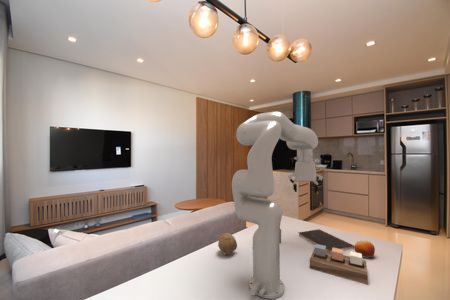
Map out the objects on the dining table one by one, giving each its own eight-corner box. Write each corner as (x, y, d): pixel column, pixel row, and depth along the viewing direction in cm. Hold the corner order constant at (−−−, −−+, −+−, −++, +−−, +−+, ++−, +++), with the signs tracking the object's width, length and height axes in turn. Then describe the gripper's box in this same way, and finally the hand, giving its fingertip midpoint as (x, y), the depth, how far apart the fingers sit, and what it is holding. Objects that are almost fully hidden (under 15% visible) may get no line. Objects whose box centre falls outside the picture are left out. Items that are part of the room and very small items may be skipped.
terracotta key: (342, 261, 82) (342, 253, 82) (331, 258, 84) (331, 251, 84) (343, 256, 85) (343, 249, 85) (332, 254, 87) (332, 247, 87)
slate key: (325, 256, 85) (324, 249, 85) (314, 254, 87) (314, 247, 87) (326, 252, 89) (326, 246, 89) (316, 250, 91) (316, 243, 91)
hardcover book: (329, 254, 97) (329, 249, 97) (298, 236, 119) (298, 232, 119) (354, 249, 102) (354, 245, 102) (319, 232, 124) (319, 229, 124)
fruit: (370, 259, 88) (361, 240, 92) (356, 261, 95) (348, 243, 99) (383, 257, 90) (374, 238, 95) (369, 259, 97) (361, 241, 101)
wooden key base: (367, 284, 74) (367, 274, 74) (309, 268, 85) (309, 259, 85) (366, 268, 84) (366, 260, 84) (314, 256, 95) (314, 248, 95)
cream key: (362, 265, 78) (362, 258, 78) (350, 262, 80) (349, 255, 80) (361, 261, 82) (361, 253, 82) (350, 258, 84) (350, 251, 84)
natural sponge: (213, 253, 98) (213, 233, 98) (227, 247, 104) (227, 228, 104) (226, 261, 91) (226, 238, 91) (240, 254, 97) (240, 233, 97)
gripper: (288, 159, 104) (288, 192, 104) (324, 159, 100) (325, 194, 100) (287, 159, 111) (287, 190, 111) (320, 159, 107) (321, 191, 107)
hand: (305, 192), depth 105 cm, fingers open, 9 cm apart
